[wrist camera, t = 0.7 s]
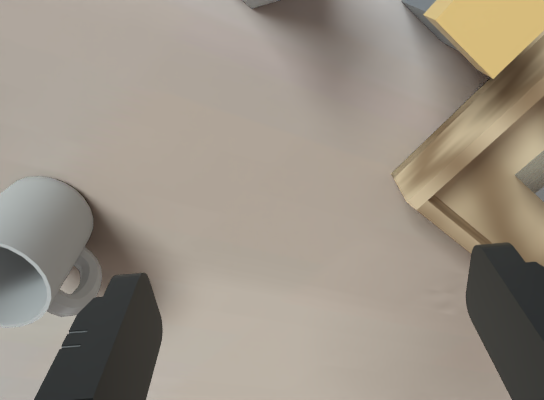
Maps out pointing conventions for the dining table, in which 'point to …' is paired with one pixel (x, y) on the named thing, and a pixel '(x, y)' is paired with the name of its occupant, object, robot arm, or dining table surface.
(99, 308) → the robot arm
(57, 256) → the cup
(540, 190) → the frame
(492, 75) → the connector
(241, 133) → the dining table surface
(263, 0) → the flask
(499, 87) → the walled box
